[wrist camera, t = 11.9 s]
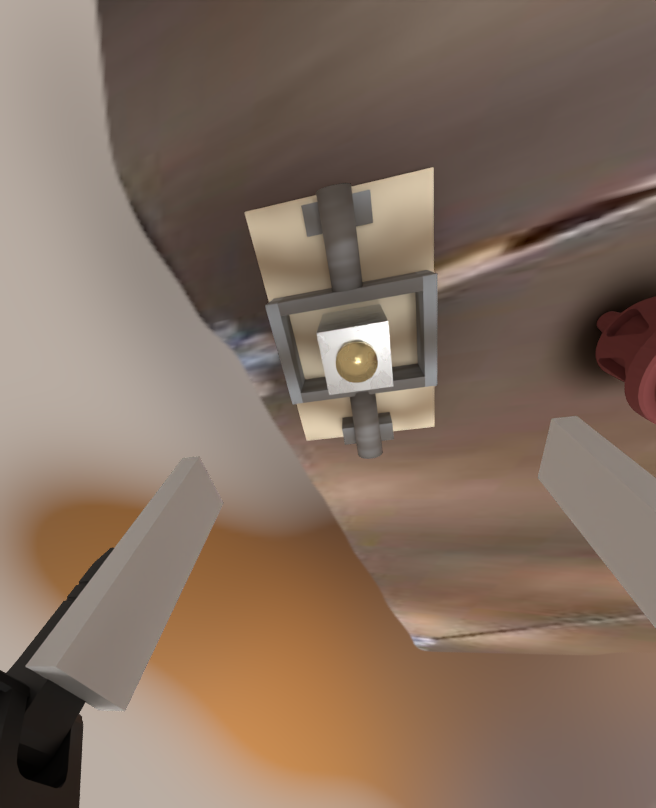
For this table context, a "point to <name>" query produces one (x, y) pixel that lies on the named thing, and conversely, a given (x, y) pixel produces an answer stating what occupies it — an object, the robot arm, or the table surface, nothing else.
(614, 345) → the mechanical component
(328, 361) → the block
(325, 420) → the shaft bench
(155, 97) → the table surface
